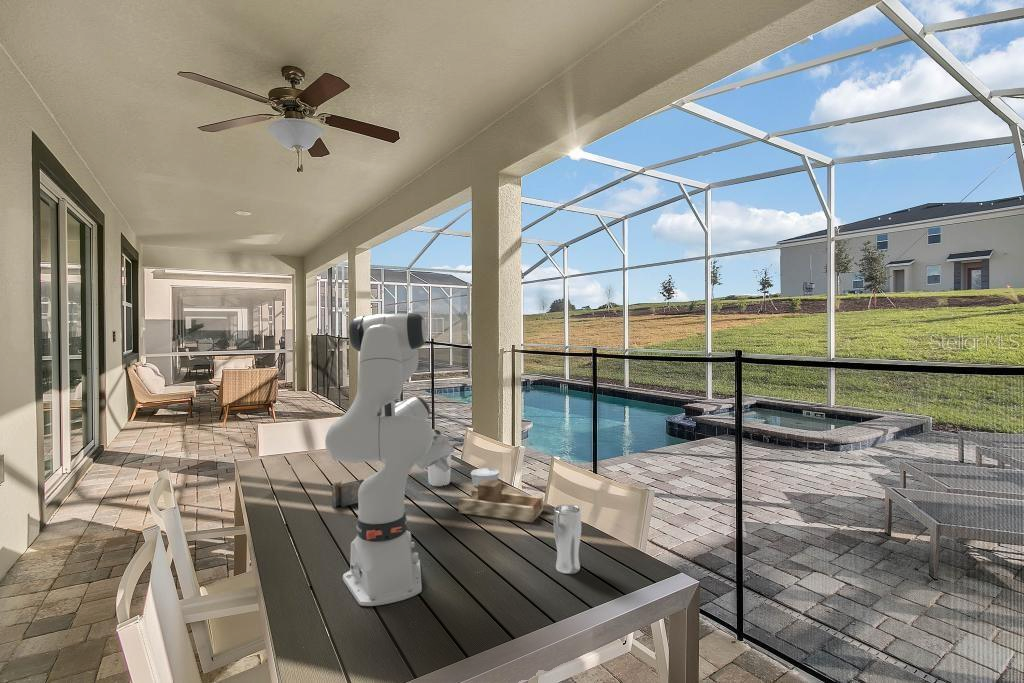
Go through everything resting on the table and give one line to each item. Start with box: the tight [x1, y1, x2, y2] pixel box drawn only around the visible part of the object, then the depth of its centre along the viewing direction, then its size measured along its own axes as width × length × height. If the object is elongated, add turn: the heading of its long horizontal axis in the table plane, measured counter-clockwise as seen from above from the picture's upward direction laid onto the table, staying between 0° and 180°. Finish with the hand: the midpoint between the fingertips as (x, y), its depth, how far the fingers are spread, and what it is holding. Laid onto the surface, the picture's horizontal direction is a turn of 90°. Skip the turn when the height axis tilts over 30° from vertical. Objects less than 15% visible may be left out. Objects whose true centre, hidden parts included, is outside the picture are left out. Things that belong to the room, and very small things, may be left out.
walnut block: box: [477, 480, 503, 503], centre depth 161 cm, size 6×6×8 cm
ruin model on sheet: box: [331, 479, 365, 509], centre depth 169 cm, size 11×3×10 cm, turn 133°
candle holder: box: [427, 454, 452, 487], centre depth 192 cm, size 10×10×12 cm
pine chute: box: [458, 488, 544, 523], centre depth 160 cm, size 26×11×4 cm, turn 69°
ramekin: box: [470, 467, 500, 488], centre depth 189 cm, size 11×11×5 cm
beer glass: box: [553, 504, 582, 575], centre depth 120 cm, size 7×7×15 cm
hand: (447, 470), depth 167 cm, fingers closed
